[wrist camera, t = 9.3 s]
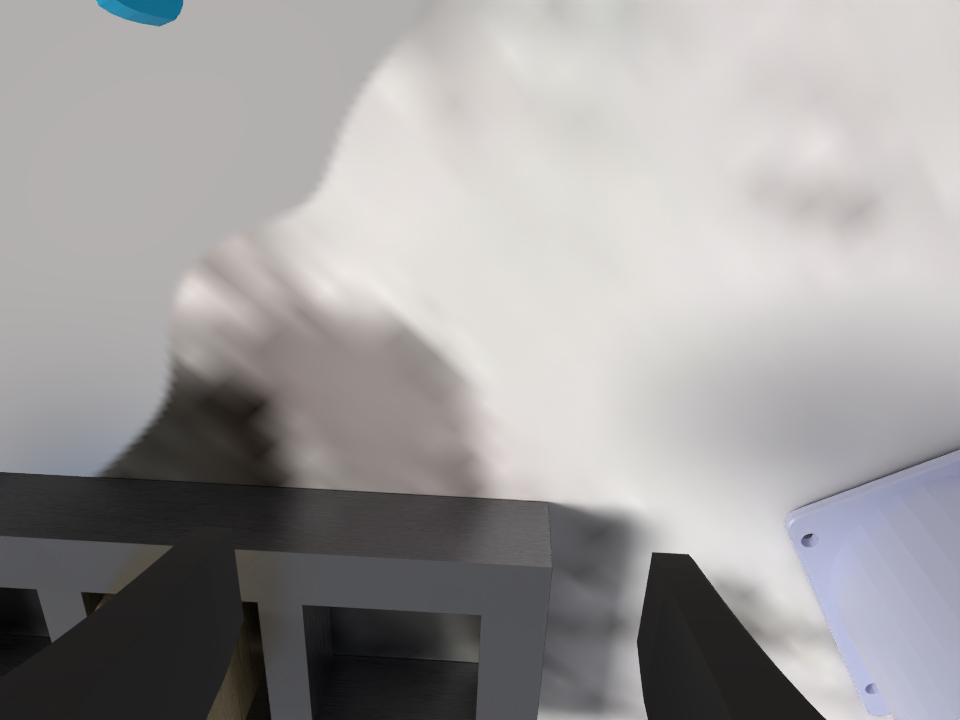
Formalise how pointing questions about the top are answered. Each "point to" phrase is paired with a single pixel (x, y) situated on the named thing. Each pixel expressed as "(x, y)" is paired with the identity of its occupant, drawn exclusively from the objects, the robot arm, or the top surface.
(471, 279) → the top surface
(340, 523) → the grey compartment tray
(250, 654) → the tan rectangular block
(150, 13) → the gear
